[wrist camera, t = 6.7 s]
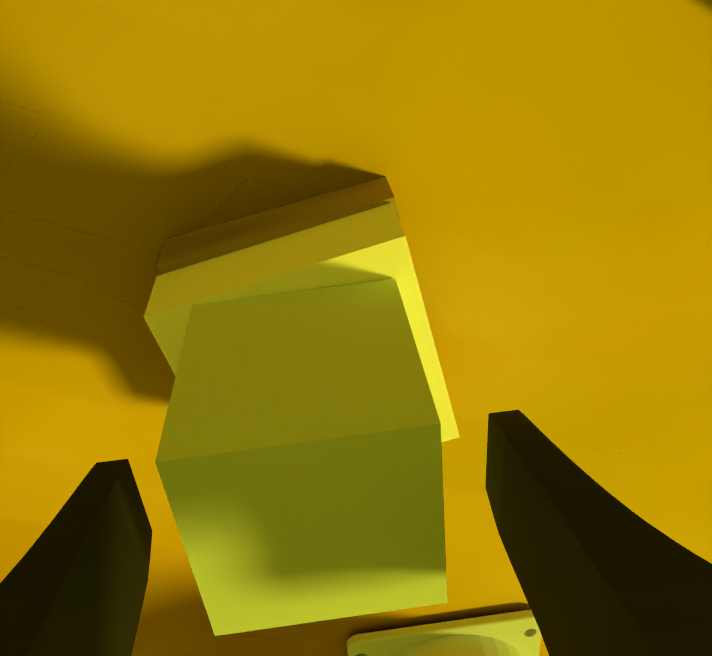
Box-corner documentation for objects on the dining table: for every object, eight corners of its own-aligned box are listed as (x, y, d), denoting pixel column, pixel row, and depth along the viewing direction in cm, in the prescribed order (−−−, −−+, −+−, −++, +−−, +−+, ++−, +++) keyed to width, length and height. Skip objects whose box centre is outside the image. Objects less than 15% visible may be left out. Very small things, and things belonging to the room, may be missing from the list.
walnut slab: (426, 350, 21) (439, 388, 19) (242, 401, 21) (239, 443, 19) (382, 170, 18) (394, 196, 16) (166, 232, 18) (155, 264, 16)
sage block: (406, 433, 17) (447, 602, 13) (231, 457, 17) (214, 636, 13) (395, 278, 15) (441, 423, 11) (192, 304, 15) (155, 461, 10)
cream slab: (443, 391, 19) (459, 437, 18) (245, 449, 20) (242, 500, 18) (391, 202, 16) (405, 236, 14) (156, 276, 16) (143, 317, 15)
